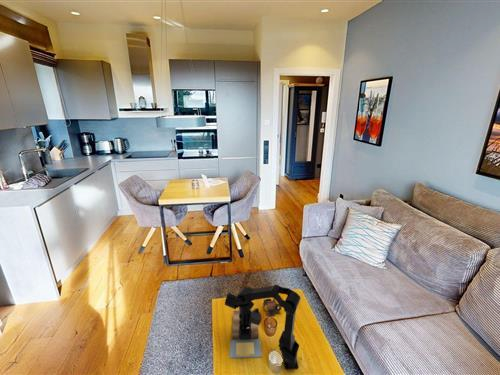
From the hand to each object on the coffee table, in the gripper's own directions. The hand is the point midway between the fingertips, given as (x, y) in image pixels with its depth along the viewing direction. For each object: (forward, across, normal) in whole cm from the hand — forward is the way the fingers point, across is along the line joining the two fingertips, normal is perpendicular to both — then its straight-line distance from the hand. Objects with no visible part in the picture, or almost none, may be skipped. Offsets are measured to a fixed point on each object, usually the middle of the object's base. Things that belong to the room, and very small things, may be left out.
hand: (245, 334), depth 129 cm
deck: (+5, +9, 0) cm, 10 cm away
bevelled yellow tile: (+3, -6, 0) cm, 6 cm away
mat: (+5, -4, 0) cm, 6 cm away
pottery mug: (+5, +20, -16) cm, 27 cm away
